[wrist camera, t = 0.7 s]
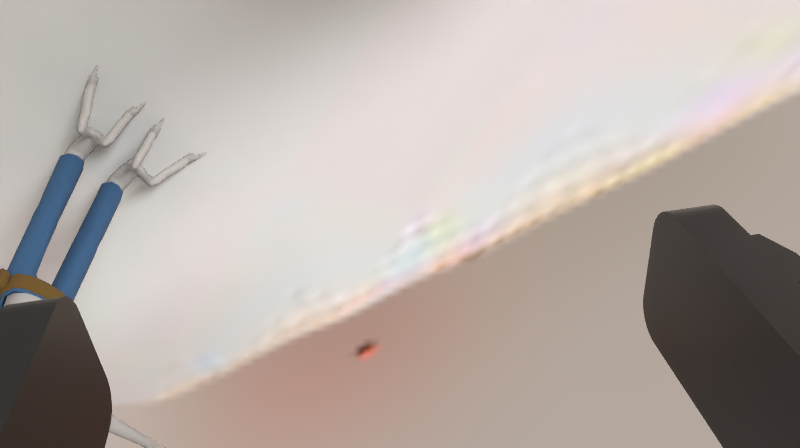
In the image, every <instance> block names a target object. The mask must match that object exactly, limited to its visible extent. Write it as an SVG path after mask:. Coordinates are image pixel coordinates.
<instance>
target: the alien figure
mask: <svg viewBox="0 0 800 448" xmlns="http://www.w3.org/2000/svg"><path fill="white" fill-rule="evenodd" d="M97 67H98V65H97V66H96V67H95V69H94V71H93V73H92V75H90V76H89V79H88V81H87V84H86V88H85V91H84V94H83V100H82V106H81V111H80V116H79V120H78V124H77V133H79V134H80V135H81V136H80V137H79V138H78V139H77V140H76V141H75V142H73V143H72V144H71V145H70V146H69V148H68V149H67V150H66V152H65V155H62V156H60V158H59V160H58V162H57V164H56V167H55V169H54V171H53V173H52V175H51V178H50V180H49V182H48V184H47V187H46V189H45V191H44V193H43V196H42V198H41V201H40V203H39V206H38V207H37V209H36V211H35V213H34V214H33V216H32V219H31V221H30V223H29V225H28V227H27V229H26V231H25V234H24V236H23V238H22V240H21V242H20V244H19V246H18V248H17V251H16V253H15V255H14V257H13V259H12V261H11V263H10V265H9V268H8V270H5V269H3V268H2V269H0V310H1V309H2V308H3V307H4V306H5V305H8V304H15V303H22V302H29V301H36V300H43V299H50V298H57V297H64V296H67V297H69V298H71V299H72V300H73V301H74V298H75V296H76V294H77V292H78V290H79V288H80V285H81V283H82V281H83V279H84V277H85V275H86V273H87V270H88V268H89V266H90V264H91V262H92V260H93V258H94V255H95V253H96V250H97V248H98V245H99V243H100V242H101V240H102V238H103V236H104V234H105V232H106V230H107V228H108V226H109V224H110V221H111V219H112V217H113V215H114V213H115V211H116V209H117V207H118V204H119V202H120V200H121V197H122V194H123V190H124V189H125V188H126V187H127V186H128V185H129V184H130V182H131V181H132V180H133V179H134V178H135V177H136V176H138V177H139V178H140V179H141V180H142V181H143V182H145V183H146V184H148V185H149V186H154V185H157V184H158V183H160V182H161V181H163V180H164V179H165V178H167V177H169V176H170V175H172V174H174V173H175V172H177V171H179V170H180V169H182V168H184V167H185V166H186V165H187V164H189V163H190V162H192V161H194V160H196V159H198V158H200V157H201V156H203V155H204V154H206V152H205V153H202V154H199V155H196V156H195V155H194V154H193V153H192V154H189V155H187V156H185V157H183V158H182V159H180V160H179V161H177V162H176V163H174V164H173V165H171V166H169V167H168V168H166V169H165V170H163V171H162V172H160V173H159V174H158V175H156V176H155V177H152V176H150V175H149V174H148V173H147V172H146V170H145V168H144V167H143V166H142V165H141V163H142V161H143V159H144V157H145V156H146V154H147V152H148V151H149V149H150V147H151V145H152V142H153V141H154V140H155V138H156V137H157V135H158V133H159V132H160V130H161V128H160V127H161V125H162V123H163V121H164V119H165V117H164V118H163V119H162V120H161V121H160V122H159V123H158V124H157V125H154V126H153V127H152V129H151V130H150V131H149V132H148V134H147V136H146V138H145V140H144V142H143V144H142V145H141V147H140V149H139V150H138V152H137V154H136V155H135V157H134V159H132V160H128V161H127V162H126V163H124V164H123V165H122V166H121V167H120V168H119V169H117V170H116V171H115V172H114V173H113V174H112V175H111V176H110V178H109V179H108V181H107V183H103V184H102V185H101V187H100V189H99V191H98V193H97V195H96V197H95V199H94V201H93V203H92V205H91V207H90V209H89V211H88V213H87V215H86V217H85V219H84V221H83V223H82V225H81V227H80V229H79V231H78V233H77V235H76V237H75V239H74V241H73V243H72V245H71V247H70V249H69V251H68V253H67V255H66V257H65V259H64V261H63V263H62V265H61V267H60V269H59V271H58V273H57V275H56V277H55V279H54V281H53V283H52V285H50V284H48V283H46V282H44V281H42V280H40V279H38V278H37V276H36V273H37V271H38V268H39V266H40V263H41V261H42V258H43V256H44V253H45V251H46V248H47V246H48V244H49V242H50V239H51V237H52V235H53V233H54V230H55V228H56V226H57V223H58V220H59V219H60V217H61V215H62V213H63V211H64V208H65V206H66V204H67V202H68V200H69V198H70V196H71V194H72V192H73V189H74V187H75V185H76V183H77V181H78V179H79V177H80V175H81V173H82V170H83V165H84V159H85V158H86V157H87V156H88V155H89V153H90V152H91V151H92V150H93V149H94V148H95V147H96V146H97V145H99V146H102V147H107V146H109V145H110V144H112V143H113V141H114V140H115V139H116V138H117V136H118V135H119V134H120V132H121V131H122V129H123V128H124V127H125V126H126V125H127V124H128V123H129V122H130V120H131V119H132V118H133V117H134V116H135V115H136V114H137V113H138V111H139V110H140V109H141V108H142V107H143V106H144V105H145V103H146V102H144V103H143V104H141V105H140V106H138V107H136V108H134V107H132V108H130V109H129V110H128V111H126V112H125V113H124V115H123V116H122V118H121V119H120V120H119V121H118V122H117V123H116V125H115V126H114V127H113V128H112V130H111V131H110V132H109V134H108V135H107V136H106V137H103V135H102V134H101V133H99V132H98V131H96V130H94V129H92V128H90V127H89V128H88V127H87V123H88V120H89V117H90V112H91V107H92V102H93V96H94V92H95V89H96V84H97V80H98V78H97V77H96V74H97ZM109 432H111V433H113V434H115V435H117V436H120V437H122V438H125V439H127V440H129V441H132V442H134V443H136V444H139V445H141V446H142V447H144V448H165V447H163V446H162V445H160V444H159V443H157V442H156V441H155V440H153V439H152V438H149V437H146V436H144V435H143V434H141V433H140V432H138V431H137V430H135V429H134V428H132V427H131V426H129V425H128V424H126V423H124V422H123V421H121V420H120V419H118V418H117V417H115V416H114V415H112V417H111V424H110V429H109Z"/></svg>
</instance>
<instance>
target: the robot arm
mask: <svg viewBox="0 0 800 448" xmlns="http://www.w3.org/2000/svg"><path fill="white" fill-rule="evenodd" d="M643 308H644V316H645V321H646V325H647V328H648V331H649V334H650V336H651V338H652V340H653V342H654V343H655V345H656V346H657V348H658V349H659V351H660V352H661V354H662V356H663V357H664V358H665V360H666V361H667V363H668V365H669V366H670V368H671V369H672V371H673V372H674V374H675V375H676V377H677V378H678V380H679V381H680V383H681V384H682V386H683V387H684V389H685V390H686V392H687V393H688V395H689V396H690V398H691V400H692V401H693V402H694V404H695V406H696V407H697V409H698V410H699V412H700V413H701V415H702V416H703V418H704V419H705V421H706V422H707V424H708V425H709V427H710V428H711V430H712V431H713V433H714V434H715V436H716V437H717V439H718V441H719V442H720V443H721V445H722V447H723V448H800V256H799V255H797V253H795V252H793V251H791V250H789V249H787V248H785V247H783V246H781V245H779V244H777V243H775V242H774V241H771V240H770V239H768V238H766V237H764V236H762V235H760V234H756V235H750V234H749V233H747V231H746V230H745V229H744V228H743V227H741V226H740V224H739V223H737V222H736V221H735V220H734V219H733V218H732V217H731V216H730V215H729V214H728V213H727V212H726V211H725V210H724V209H723V208H722V207H720V206H718V205H708V206H701V207H694V208H687V209H680V210H673V211H666V212H662V213H660V214H659V215H658V216H657V218H656V220H655V223H654V228H653V234H652V241H651V248H650V256H649V262H648V269H647V276H646V283H645V290H644V298H643ZM111 417H112V401H111V392H110V387H109V383H108V380H107V377H106V375H105V372H104V370H103V367H102V365H101V363H100V360H99V358H98V355H97V353H96V351H95V348H94V346H93V343H92V341H91V339H90V336H89V334H88V331H87V329H86V327H85V324H84V322H83V319H82V317H81V315H80V312H79V310H78V308H77V306H76V304H75V303H74V301H73V300H72V299H71V298H69V297H67V296H64V297H57V298H50V299H43V300H36V301H29V302H22V303H15V304H8V305H5V306H4V307H3V308H2V309H1V310H0V448H105V444H106V440H107V436H108V432H109V429H110V424H111Z"/></svg>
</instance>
